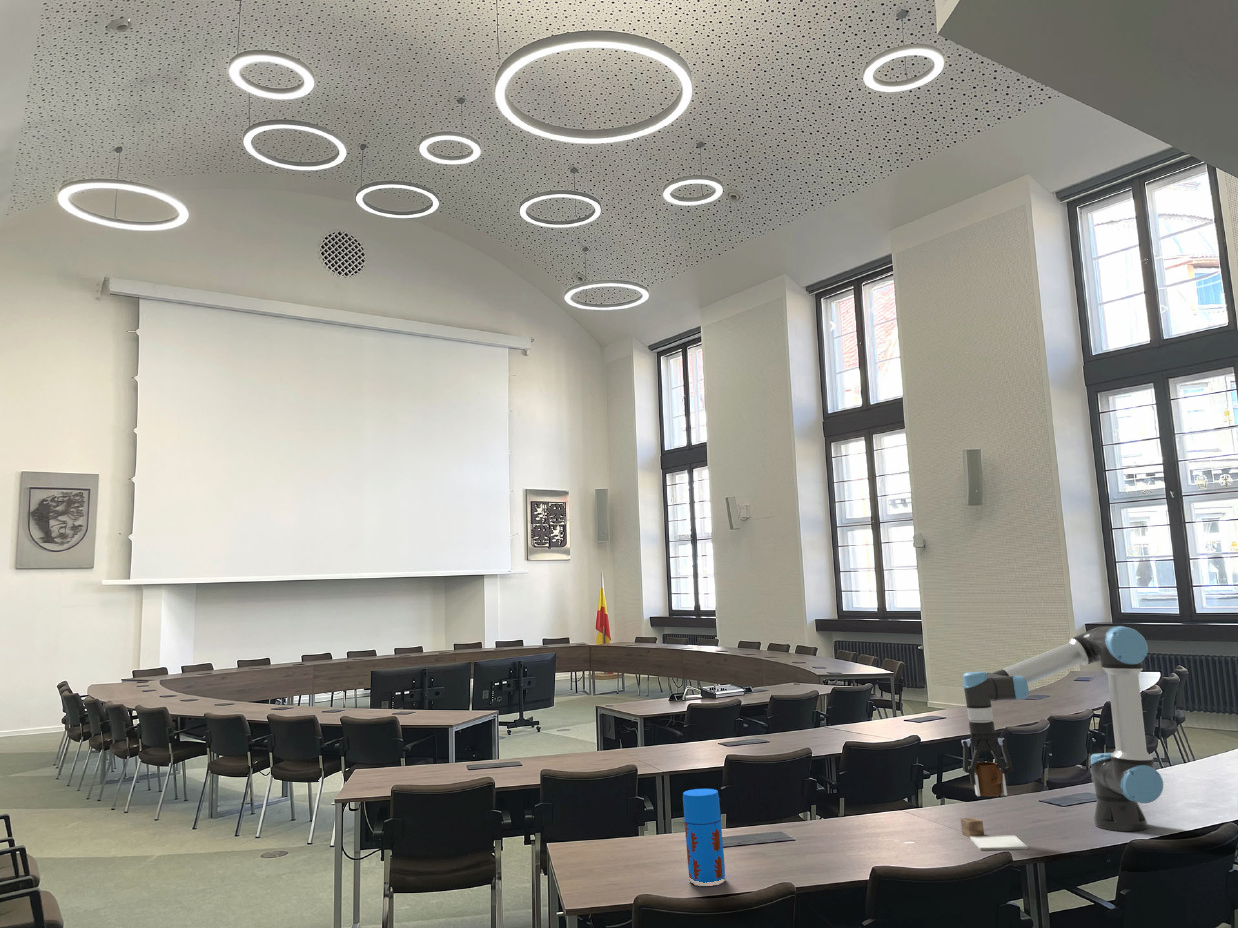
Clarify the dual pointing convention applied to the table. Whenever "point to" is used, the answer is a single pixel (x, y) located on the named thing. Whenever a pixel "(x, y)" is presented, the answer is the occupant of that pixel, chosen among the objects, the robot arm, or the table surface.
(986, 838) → the felt mat
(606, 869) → the table surface
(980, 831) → the walnut block
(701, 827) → the thermos
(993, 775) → the mug
